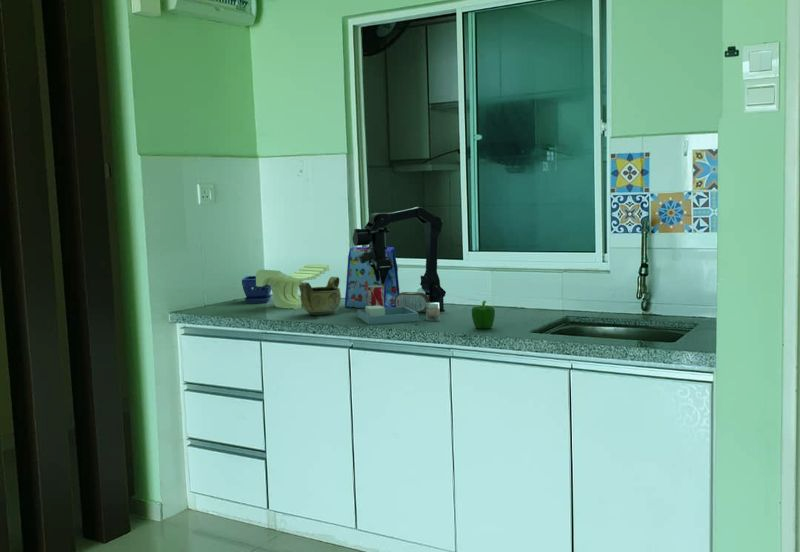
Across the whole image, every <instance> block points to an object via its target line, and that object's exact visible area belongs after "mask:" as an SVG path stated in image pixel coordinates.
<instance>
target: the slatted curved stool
mask: <svg viewBox="0 0 800 552" xmlns="http://www.w3.org/2000/svg"><path fill="white" fill-rule="evenodd" d="M329 271H330V264H325V263H324V264H321V263H319V264H318V263H308V264H305V265H303V267H302V268H299V269H298V270H297V271H294V273H291V274H286V273H283V272H281V270H271V269H259V270H257V271H256V273H255V276H256V286H258V287H259V286H265V285H266V284H267V285H269V286H271V292H272V296H273V297H272V298H273V304H274V306H275V307H276V308H284V309H290V308H293V309H292V310H298V309H297V308H299V309H303V308H302V307H303V305H302V303H301V296H299V294H298V290H299V285H300V283H301V282H304V281H308V280H316V279H317V277H321V275H323V274H326V272H329Z"/></svg>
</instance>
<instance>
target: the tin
mask: <svg viewBox="0 0 800 552" xmlns="http://www.w3.org/2000/svg"><path fill="white" fill-rule="evenodd" d="M428 302H430V301H429V298H428V297H427V295H426V294H425V292H420V291H418V292H416V291H415V292H414V291H402V292H401V291H400V294H398V295H397V296H396V298H395V307H407V308H409V309H411V310H413V311H415V312H421V313H424V312H426V303H428Z"/></svg>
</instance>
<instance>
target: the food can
mask: <svg viewBox="0 0 800 552" xmlns="http://www.w3.org/2000/svg"><path fill="white" fill-rule="evenodd" d="M440 312H441V311H440V308H439V303H438V302H428V303H426V311H425V319H426V321H429V322H430V321H431V322H434V323H437V322H436V321H438V322H440V318H441V317H440V316H441V315H440Z"/></svg>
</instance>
